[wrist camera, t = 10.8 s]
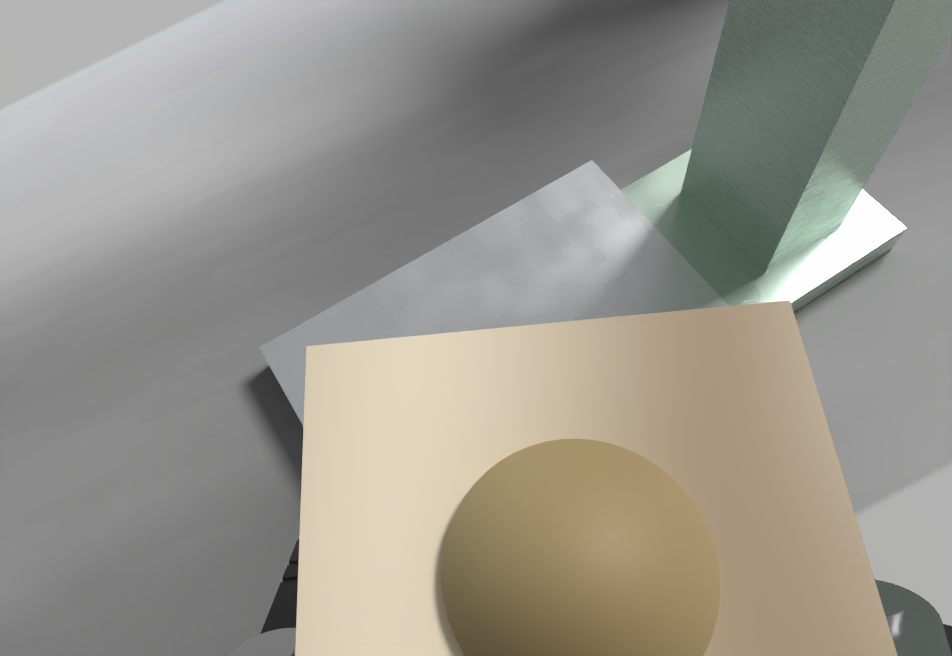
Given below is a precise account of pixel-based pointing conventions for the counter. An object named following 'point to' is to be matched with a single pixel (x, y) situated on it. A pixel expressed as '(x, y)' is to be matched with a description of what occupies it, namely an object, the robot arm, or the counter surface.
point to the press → (686, 195)
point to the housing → (580, 495)
